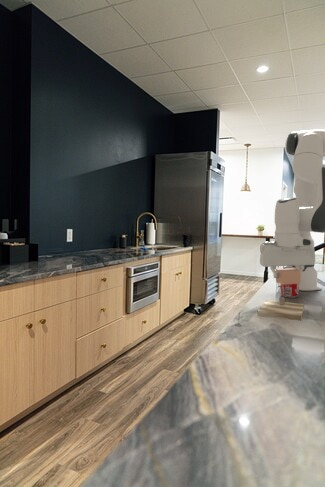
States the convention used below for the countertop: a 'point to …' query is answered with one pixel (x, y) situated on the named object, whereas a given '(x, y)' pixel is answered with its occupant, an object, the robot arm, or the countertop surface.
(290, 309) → the pin plate
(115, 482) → the countertop surface
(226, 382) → the countertop surface
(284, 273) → the block
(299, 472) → the countertop surface
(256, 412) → the countertop surface
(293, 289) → the soda can
